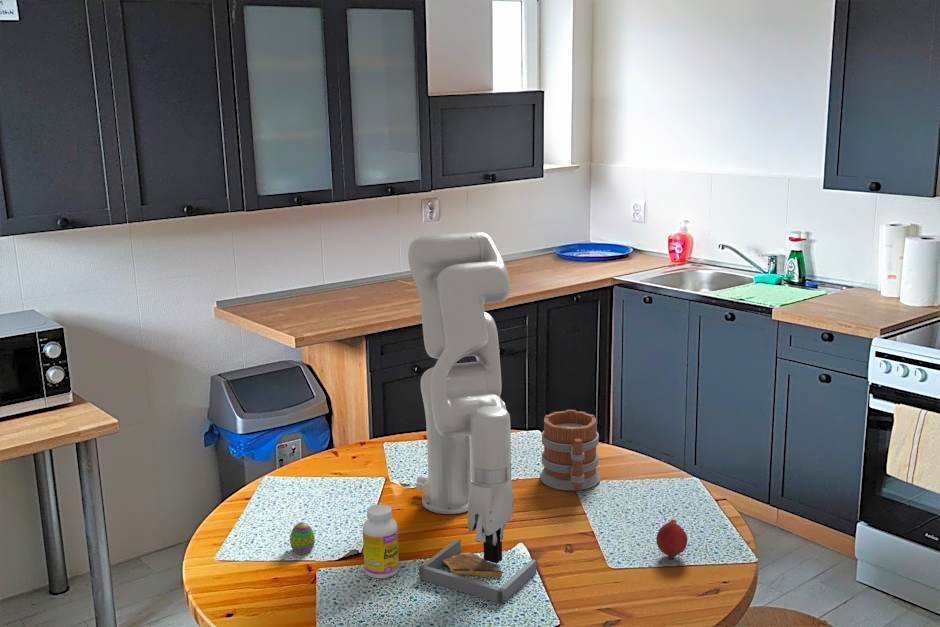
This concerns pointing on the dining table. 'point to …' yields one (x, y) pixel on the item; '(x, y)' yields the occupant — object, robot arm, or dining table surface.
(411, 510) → the dining table surface
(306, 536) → the egg
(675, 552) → the onion
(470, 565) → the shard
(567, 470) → the mug
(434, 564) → the slate bay
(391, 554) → the supplement bottle
